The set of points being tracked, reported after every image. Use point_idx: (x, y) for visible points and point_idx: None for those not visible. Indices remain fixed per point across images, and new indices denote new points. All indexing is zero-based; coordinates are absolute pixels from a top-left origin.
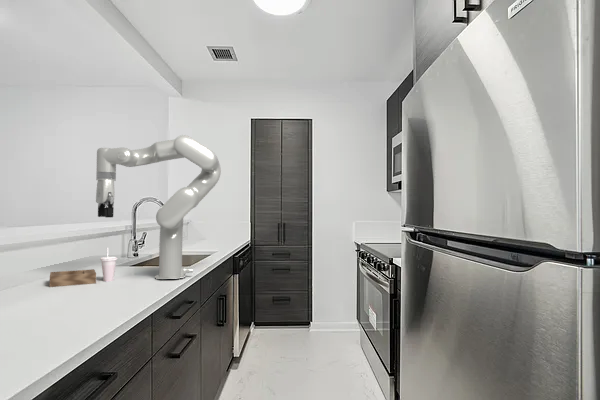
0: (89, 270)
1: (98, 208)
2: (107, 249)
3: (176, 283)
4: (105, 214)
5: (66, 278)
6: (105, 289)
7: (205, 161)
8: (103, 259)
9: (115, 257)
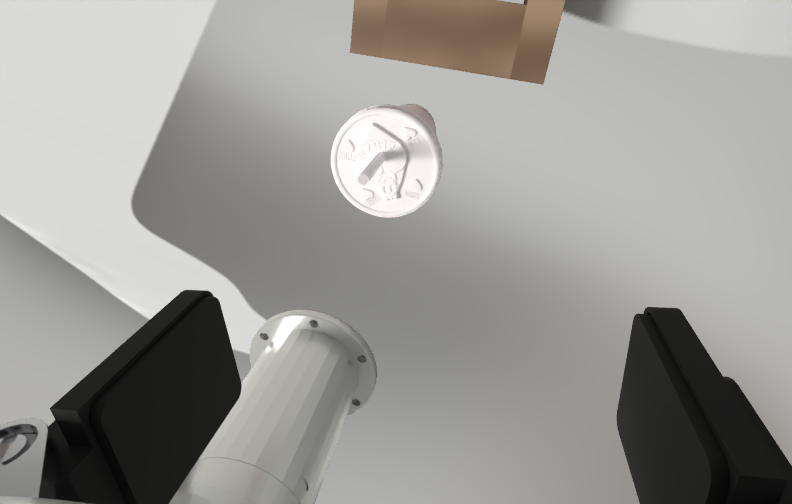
0: (506, 43)
1: (722, 452)
2: (363, 171)
3: None
4: (157, 315)
5: None
6: (174, 50)
7: None
8: (353, 118)
9: (379, 206)
